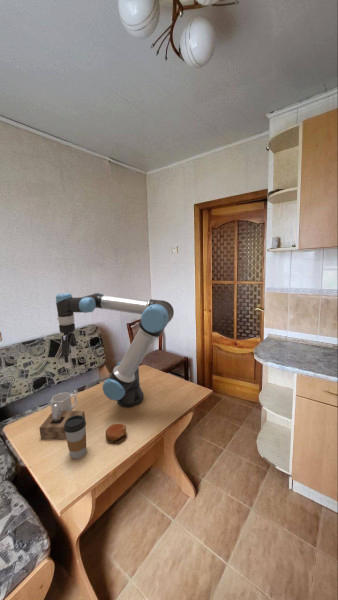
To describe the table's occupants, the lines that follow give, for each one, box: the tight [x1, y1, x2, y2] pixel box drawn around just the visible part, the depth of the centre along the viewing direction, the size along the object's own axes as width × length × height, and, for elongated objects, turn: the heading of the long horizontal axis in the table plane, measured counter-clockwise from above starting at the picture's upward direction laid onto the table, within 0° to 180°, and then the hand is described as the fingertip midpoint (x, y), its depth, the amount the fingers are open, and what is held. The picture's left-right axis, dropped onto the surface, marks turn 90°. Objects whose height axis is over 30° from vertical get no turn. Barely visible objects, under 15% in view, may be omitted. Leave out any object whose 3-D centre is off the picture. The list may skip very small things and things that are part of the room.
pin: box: [50, 402, 62, 424], centre depth 116 cm, size 4×4×12 cm
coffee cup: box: [64, 415, 87, 460], centre depth 102 cm, size 8×8×15 cm
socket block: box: [39, 410, 86, 441], centre depth 117 cm, size 16×12×6 cm
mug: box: [51, 391, 78, 411], centre depth 129 cm, size 12×9×11 cm
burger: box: [105, 423, 128, 444], centre depth 111 cm, size 10×9×5 cm
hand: (71, 362), depth 130 cm, fingers open, 13 cm apart
